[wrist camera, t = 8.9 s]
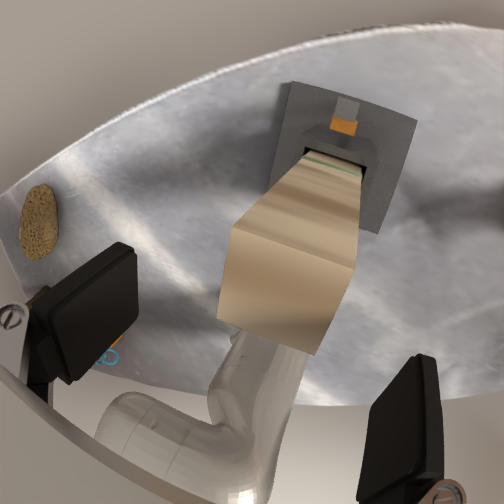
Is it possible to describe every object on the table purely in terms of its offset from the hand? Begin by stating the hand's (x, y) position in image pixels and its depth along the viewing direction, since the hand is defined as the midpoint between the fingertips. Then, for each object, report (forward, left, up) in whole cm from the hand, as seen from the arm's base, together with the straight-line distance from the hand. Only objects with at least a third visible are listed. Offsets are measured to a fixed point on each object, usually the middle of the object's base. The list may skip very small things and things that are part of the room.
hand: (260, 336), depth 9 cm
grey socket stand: (0, 0, -29) cm, 29 cm away
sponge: (-50, +30, -30) cm, 66 cm away
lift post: (0, 0, -22) cm, 22 cm away
